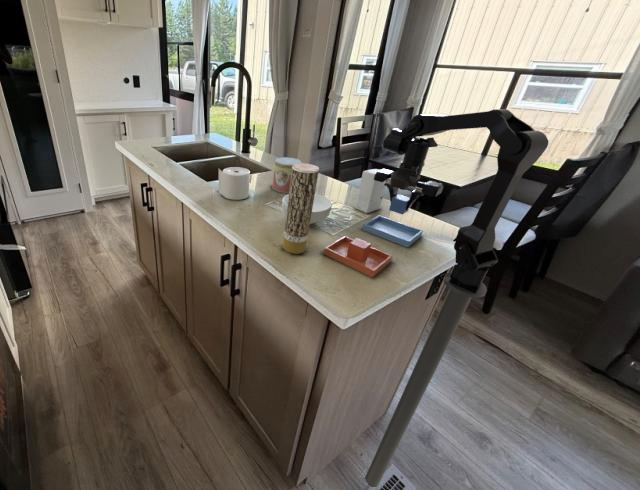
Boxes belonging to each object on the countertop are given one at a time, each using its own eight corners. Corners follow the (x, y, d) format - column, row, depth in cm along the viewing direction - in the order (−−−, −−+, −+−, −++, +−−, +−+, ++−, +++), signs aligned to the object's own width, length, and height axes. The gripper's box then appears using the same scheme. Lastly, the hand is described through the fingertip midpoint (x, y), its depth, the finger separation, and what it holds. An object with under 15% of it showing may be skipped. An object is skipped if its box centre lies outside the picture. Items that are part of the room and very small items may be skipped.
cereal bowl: (286, 206, 124) (288, 188, 121) (330, 214, 120) (334, 196, 116) (275, 225, 110) (277, 205, 107) (325, 234, 106) (329, 215, 102)
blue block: (408, 210, 104) (412, 198, 102) (402, 214, 101) (406, 201, 99) (394, 206, 107) (398, 194, 105) (388, 210, 104) (392, 197, 102)
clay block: (368, 256, 94) (371, 243, 92) (360, 262, 91) (364, 248, 89) (354, 250, 96) (357, 237, 94) (346, 255, 94) (349, 242, 91)
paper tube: (291, 240, 101) (302, 161, 89) (309, 249, 97) (323, 167, 85) (277, 248, 97) (287, 166, 85) (296, 257, 93) (309, 172, 81)
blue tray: (421, 236, 107) (423, 230, 106) (407, 247, 100) (409, 241, 99) (377, 220, 117) (378, 215, 116) (362, 229, 110) (363, 224, 109)
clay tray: (390, 262, 93) (392, 255, 92) (372, 277, 86) (374, 270, 85) (343, 241, 102) (344, 235, 101) (323, 253, 95) (324, 247, 94)
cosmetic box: (367, 213, 121) (376, 175, 114) (353, 208, 125) (362, 170, 118) (380, 209, 126) (390, 171, 118) (366, 203, 130) (376, 167, 123)
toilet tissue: (250, 199, 128) (252, 175, 123) (220, 200, 127) (220, 175, 122) (246, 190, 137) (247, 166, 133) (218, 190, 136) (218, 167, 131)
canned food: (267, 188, 140) (270, 161, 134) (279, 181, 148) (281, 155, 142) (291, 195, 135) (295, 166, 129) (302, 187, 143) (306, 160, 137)
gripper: (371, 156, 97) (359, 204, 104) (438, 172, 85) (420, 225, 93) (387, 150, 104) (375, 196, 111) (451, 165, 92) (433, 214, 100)
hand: (399, 207), depth 104 cm, fingers closed on blue block, 4 cm apart
